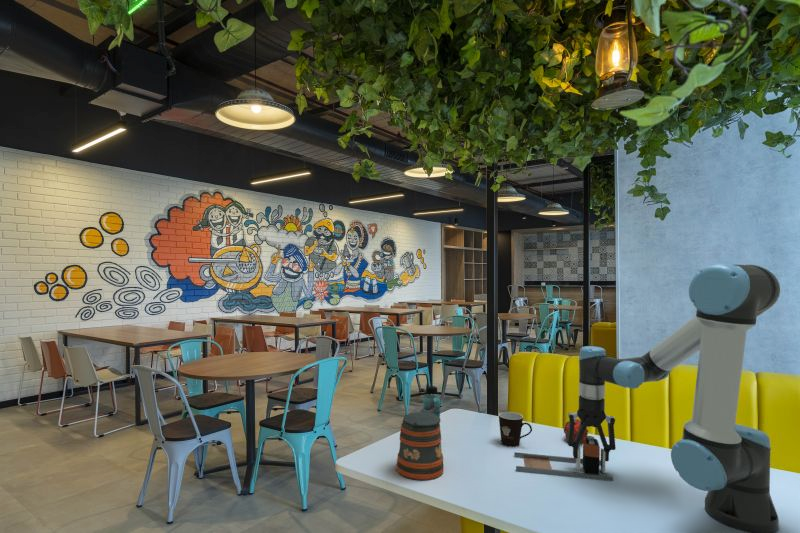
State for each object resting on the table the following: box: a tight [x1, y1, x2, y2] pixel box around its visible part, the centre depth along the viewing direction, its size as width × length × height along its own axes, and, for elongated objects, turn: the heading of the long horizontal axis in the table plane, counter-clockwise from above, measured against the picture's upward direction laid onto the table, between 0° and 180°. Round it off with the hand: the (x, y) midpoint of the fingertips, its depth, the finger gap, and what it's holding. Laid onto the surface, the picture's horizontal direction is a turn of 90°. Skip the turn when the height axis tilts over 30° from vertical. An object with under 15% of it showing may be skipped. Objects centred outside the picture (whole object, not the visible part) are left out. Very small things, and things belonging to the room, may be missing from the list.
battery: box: [582, 435, 601, 474], centre depth 142 cm, size 4×7×10 cm, turn 162°
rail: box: [513, 452, 614, 482], centre depth 144 cm, size 12×28×1 cm, turn 79°
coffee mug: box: [498, 411, 533, 448], centre depth 162 cm, size 12×9×10 cm
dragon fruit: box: [563, 418, 589, 444], centre depth 167 cm, size 8×8×12 cm
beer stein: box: [395, 398, 445, 481], centre depth 143 cm, size 19×15×20 cm
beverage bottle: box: [422, 385, 441, 425], centre depth 163 cm, size 6×7×20 cm
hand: (590, 469), depth 142 cm, fingers open, 7 cm apart
